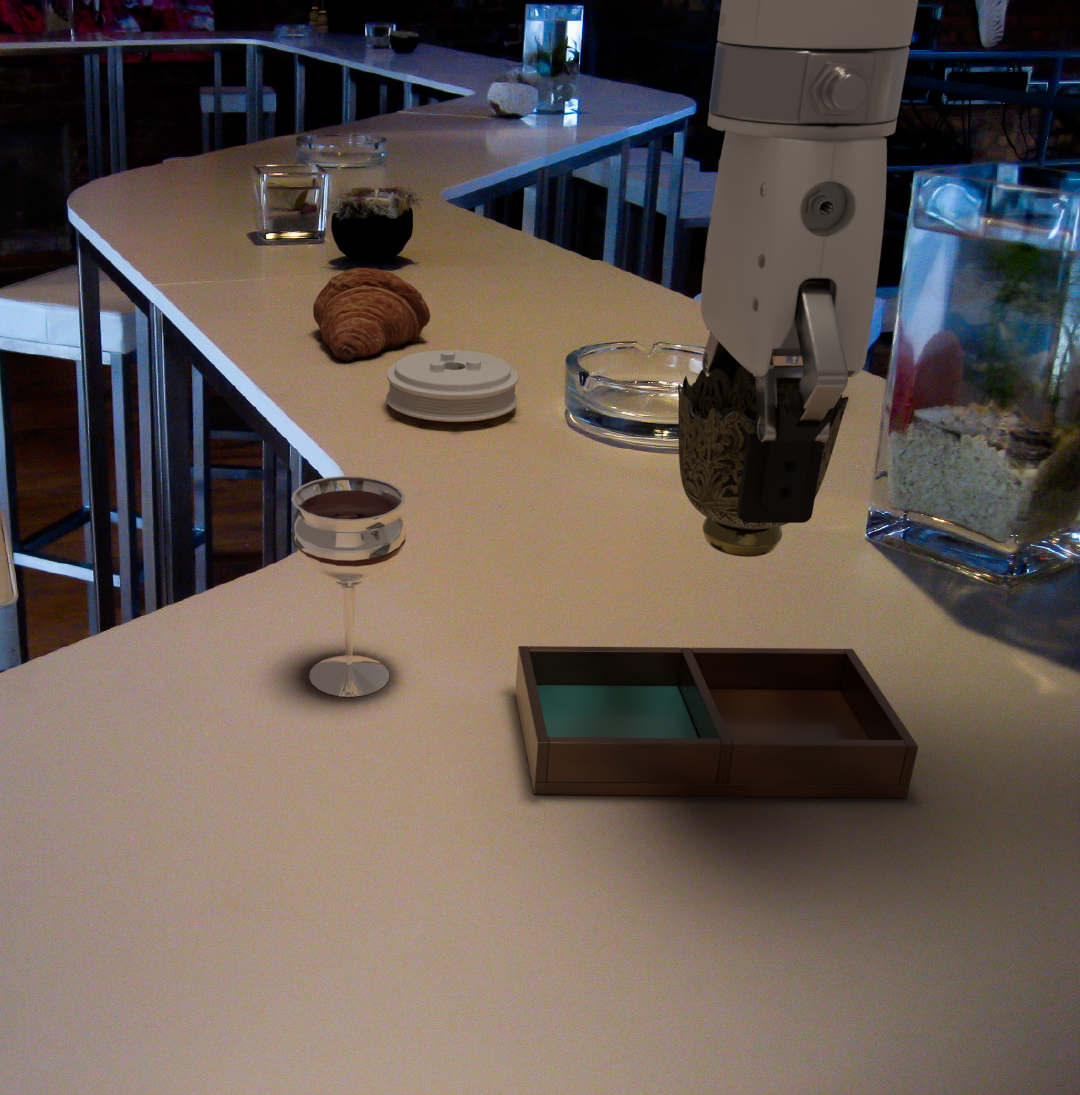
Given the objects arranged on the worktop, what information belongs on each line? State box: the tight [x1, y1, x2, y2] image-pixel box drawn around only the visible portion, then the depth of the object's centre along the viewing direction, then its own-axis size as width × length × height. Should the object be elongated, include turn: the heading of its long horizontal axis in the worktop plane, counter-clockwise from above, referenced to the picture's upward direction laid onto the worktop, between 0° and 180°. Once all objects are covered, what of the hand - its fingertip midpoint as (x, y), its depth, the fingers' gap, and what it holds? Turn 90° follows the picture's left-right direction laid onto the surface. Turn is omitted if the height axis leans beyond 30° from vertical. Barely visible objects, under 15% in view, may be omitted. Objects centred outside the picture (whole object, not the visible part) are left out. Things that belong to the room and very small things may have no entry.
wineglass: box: [290, 475, 407, 698], centre depth 77 cm, size 7×7×12 cm
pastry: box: [312, 267, 431, 362], centre depth 145 cm, size 17×15×8 cm
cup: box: [677, 367, 850, 558], centre depth 60 cm, size 8×7×8 cm
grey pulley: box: [385, 349, 520, 423], centre depth 123 cm, size 13×13×5 cm
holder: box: [514, 645, 919, 799], centre depth 72 cm, size 20×10×3 cm, turn 89°
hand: (747, 482), depth 61 cm, fingers closed on cup, 7 cm apart
